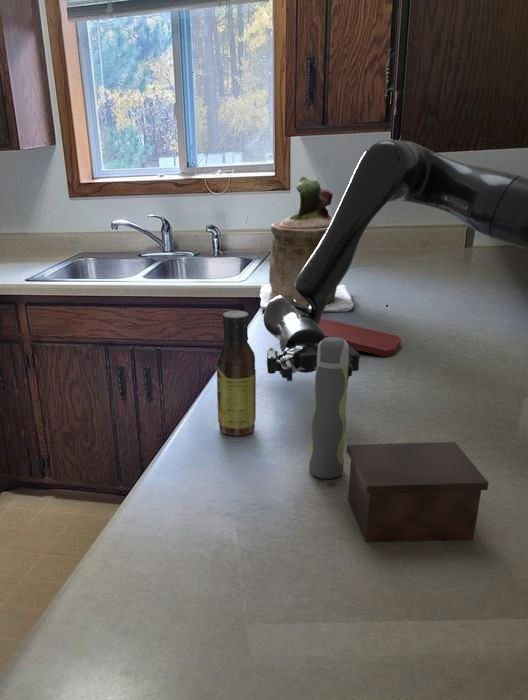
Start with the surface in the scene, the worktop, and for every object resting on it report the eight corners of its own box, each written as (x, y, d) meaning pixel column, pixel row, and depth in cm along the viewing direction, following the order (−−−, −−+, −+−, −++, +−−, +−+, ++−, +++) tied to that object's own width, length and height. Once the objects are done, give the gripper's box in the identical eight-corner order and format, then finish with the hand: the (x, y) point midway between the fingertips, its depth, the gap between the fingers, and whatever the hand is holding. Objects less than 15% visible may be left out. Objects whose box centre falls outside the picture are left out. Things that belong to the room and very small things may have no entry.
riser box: (447, 495, 100) (455, 441, 96) (479, 541, 89) (488, 482, 86) (343, 498, 100) (347, 444, 97) (362, 544, 90) (367, 485, 86)
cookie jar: (259, 313, 194) (260, 183, 180) (259, 293, 216) (261, 175, 202) (355, 312, 191) (364, 179, 177) (345, 291, 213) (353, 171, 199)
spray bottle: (346, 468, 109) (355, 335, 100) (339, 482, 105) (348, 345, 96) (313, 464, 110) (320, 332, 102) (305, 477, 106) (311, 342, 98)
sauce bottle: (226, 421, 127) (225, 306, 118) (260, 426, 125) (262, 309, 116) (211, 435, 122) (209, 316, 113) (247, 440, 119) (247, 319, 111)
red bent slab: (398, 357, 167) (293, 332, 175) (403, 336, 164) (296, 312, 173) (386, 373, 157) (276, 346, 166) (392, 351, 154) (280, 324, 163)
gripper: (262, 323, 124) (271, 351, 110) (346, 320, 124) (368, 348, 109) (261, 366, 128) (270, 398, 113) (344, 363, 127) (364, 396, 113)
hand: (318, 373), depth 111 cm, fingers open, 8 cm apart
